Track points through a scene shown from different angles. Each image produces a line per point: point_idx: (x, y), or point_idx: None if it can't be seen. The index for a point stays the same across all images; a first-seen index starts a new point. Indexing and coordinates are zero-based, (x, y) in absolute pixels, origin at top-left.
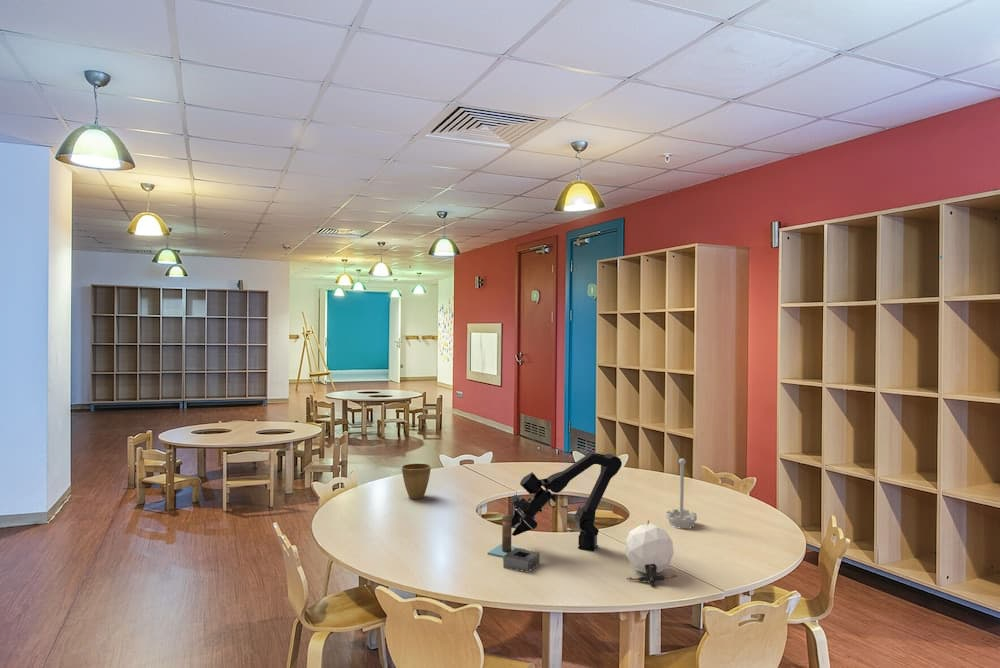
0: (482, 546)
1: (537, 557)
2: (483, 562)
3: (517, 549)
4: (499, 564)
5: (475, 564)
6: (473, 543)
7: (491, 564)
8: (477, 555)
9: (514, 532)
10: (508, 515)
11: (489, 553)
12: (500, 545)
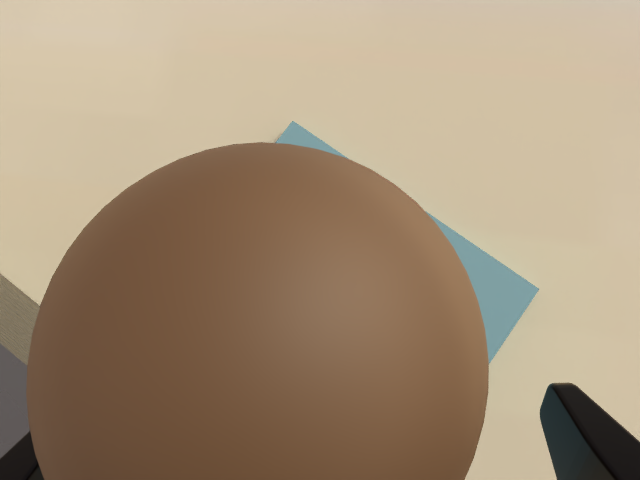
0: (518, 100)
1: None
2: (96, 73)
3: (22, 425)
4: (21, 207)
5: (64, 5)
6: (611, 22)
7: (36, 137)
8: (274, 36)
9: (6, 463)
10: (56, 445)
11: (279, 140)
12: (496, 279)
